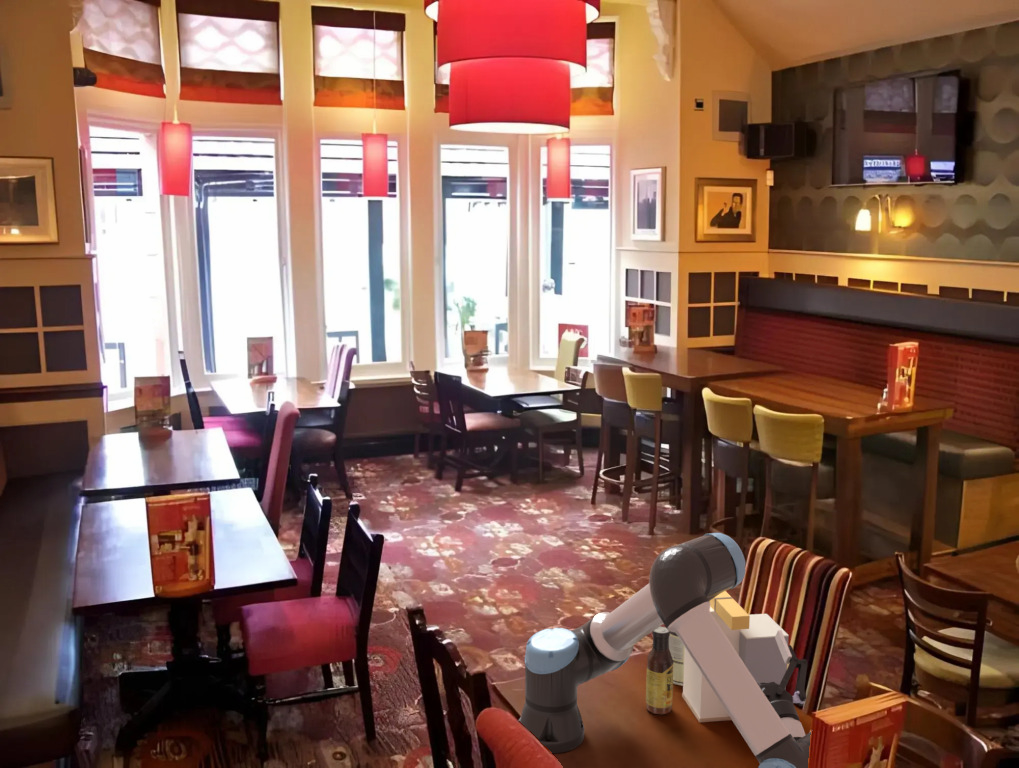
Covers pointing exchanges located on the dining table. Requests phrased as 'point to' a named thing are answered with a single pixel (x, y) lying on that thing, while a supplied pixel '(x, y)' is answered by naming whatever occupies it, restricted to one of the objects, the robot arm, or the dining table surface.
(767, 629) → the grey upright block
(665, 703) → the sauce bottle
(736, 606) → the yellow long bar
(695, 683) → the cream pillar
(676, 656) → the coffee can
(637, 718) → the dining table surface
